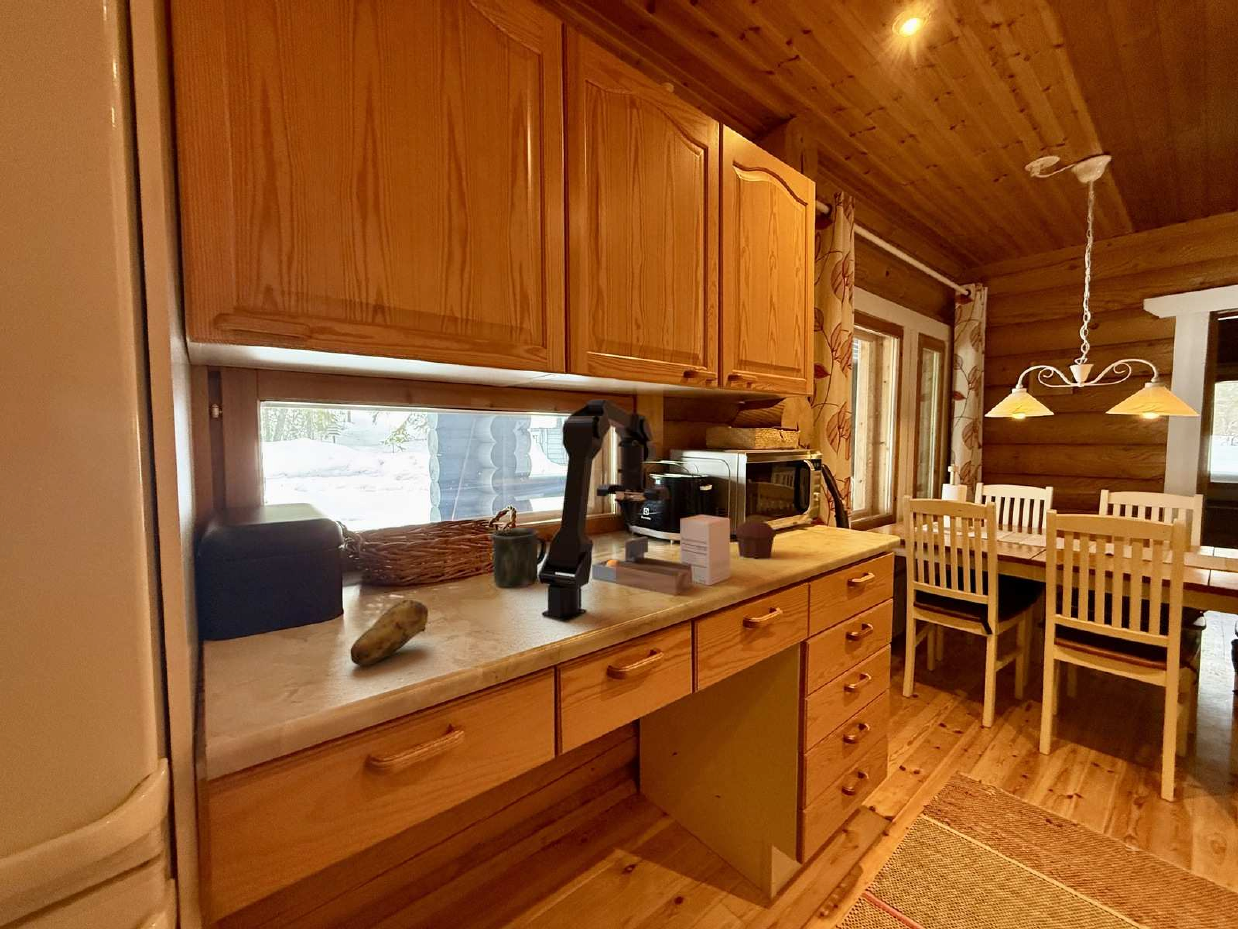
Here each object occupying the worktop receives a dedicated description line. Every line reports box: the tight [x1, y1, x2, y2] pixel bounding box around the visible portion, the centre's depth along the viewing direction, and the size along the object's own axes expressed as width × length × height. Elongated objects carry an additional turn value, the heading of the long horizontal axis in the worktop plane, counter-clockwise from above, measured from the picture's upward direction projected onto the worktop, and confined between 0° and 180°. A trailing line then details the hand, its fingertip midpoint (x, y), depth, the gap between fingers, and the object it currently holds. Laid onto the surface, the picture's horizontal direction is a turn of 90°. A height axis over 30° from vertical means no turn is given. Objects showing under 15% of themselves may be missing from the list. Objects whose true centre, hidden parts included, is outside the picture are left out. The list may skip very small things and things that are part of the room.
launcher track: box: [615, 556, 693, 596], centre depth 122 cm, size 8×16×5 cm, turn 55°
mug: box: [490, 527, 547, 588], centre depth 126 cm, size 11×15×12 cm
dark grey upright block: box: [624, 536, 649, 564], centre depth 125 cm, size 8×2×6 cm, turn 145°
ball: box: [606, 558, 618, 568], centre depth 129 cm, size 4×4×4 cm
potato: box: [350, 599, 429, 667], centre depth 84 cm, size 8×13×8 cm, turn 135°
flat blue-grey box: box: [591, 557, 625, 584], centre depth 129 cm, size 8×8×4 cm
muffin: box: [734, 519, 777, 560], centre depth 152 cm, size 12×11×10 cm
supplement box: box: [679, 514, 731, 586], centre depth 128 cm, size 9×9×15 cm
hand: (632, 526), depth 132 cm, fingers closed
